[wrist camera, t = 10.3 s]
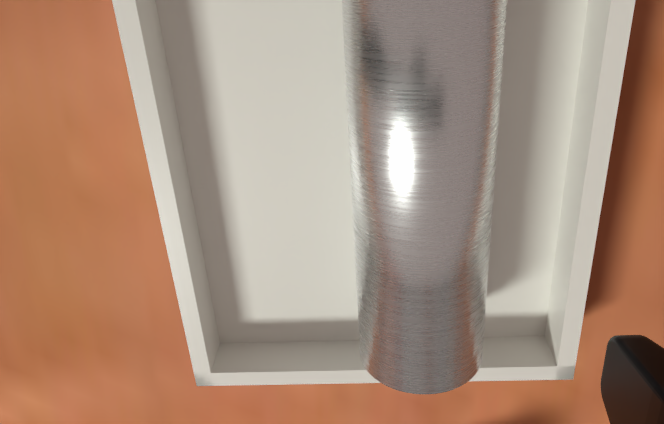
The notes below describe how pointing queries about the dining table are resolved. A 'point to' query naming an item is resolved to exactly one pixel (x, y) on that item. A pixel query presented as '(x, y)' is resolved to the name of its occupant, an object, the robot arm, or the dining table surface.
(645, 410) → the robot arm
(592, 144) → the tray
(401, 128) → the pin
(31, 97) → the dining table surface
